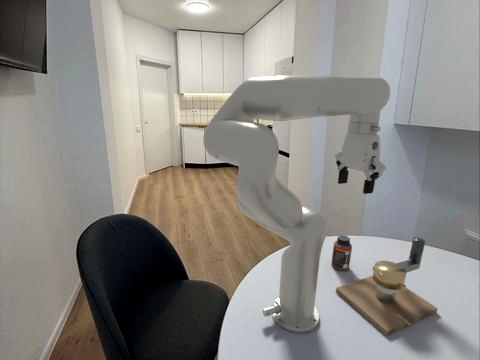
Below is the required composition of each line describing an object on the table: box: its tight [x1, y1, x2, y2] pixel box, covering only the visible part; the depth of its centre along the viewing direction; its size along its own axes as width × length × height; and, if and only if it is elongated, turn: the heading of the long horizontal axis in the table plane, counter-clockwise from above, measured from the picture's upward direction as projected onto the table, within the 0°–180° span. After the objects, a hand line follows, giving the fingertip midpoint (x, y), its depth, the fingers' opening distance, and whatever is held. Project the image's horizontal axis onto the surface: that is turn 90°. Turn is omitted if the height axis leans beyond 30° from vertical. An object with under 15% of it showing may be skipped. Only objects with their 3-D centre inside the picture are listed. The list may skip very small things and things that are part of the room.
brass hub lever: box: [372, 237, 426, 291], centre depth 80 cm, size 16×10×11 cm, turn 113°
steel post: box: [375, 284, 396, 304], centre depth 81 cm, size 5×5×6 cm
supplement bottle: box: [331, 234, 353, 271], centre depth 98 cm, size 6×6×11 cm
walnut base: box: [335, 275, 438, 337], centre depth 82 cm, size 20×19×2 cm
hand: (354, 187), depth 82 cm, fingers open, 9 cm apart
